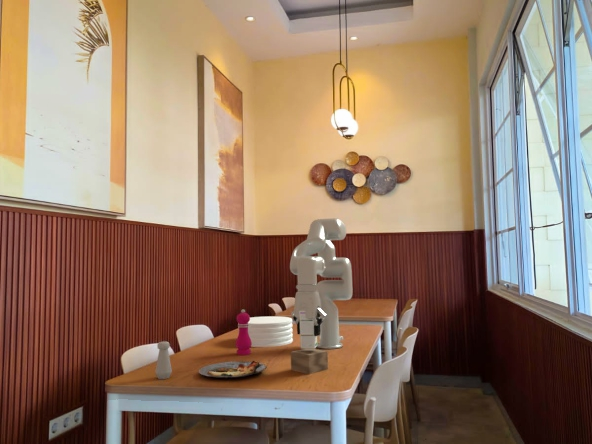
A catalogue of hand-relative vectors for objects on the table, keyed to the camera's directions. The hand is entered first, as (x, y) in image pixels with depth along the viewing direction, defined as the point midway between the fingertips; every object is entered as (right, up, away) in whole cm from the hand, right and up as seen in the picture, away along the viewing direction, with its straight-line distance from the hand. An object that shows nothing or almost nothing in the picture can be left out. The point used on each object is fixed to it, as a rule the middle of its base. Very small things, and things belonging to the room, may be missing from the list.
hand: (308, 334), depth 179 cm
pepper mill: (-29, -17, +31) cm, 46 cm away
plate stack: (-21, -19, +61) cm, 67 cm away
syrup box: (0, -5, 0) cm, 5 cm away
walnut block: (0, -13, -1) cm, 13 cm away
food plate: (-29, -14, -4) cm, 32 cm away
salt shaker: (-54, -14, -9) cm, 56 cm away
